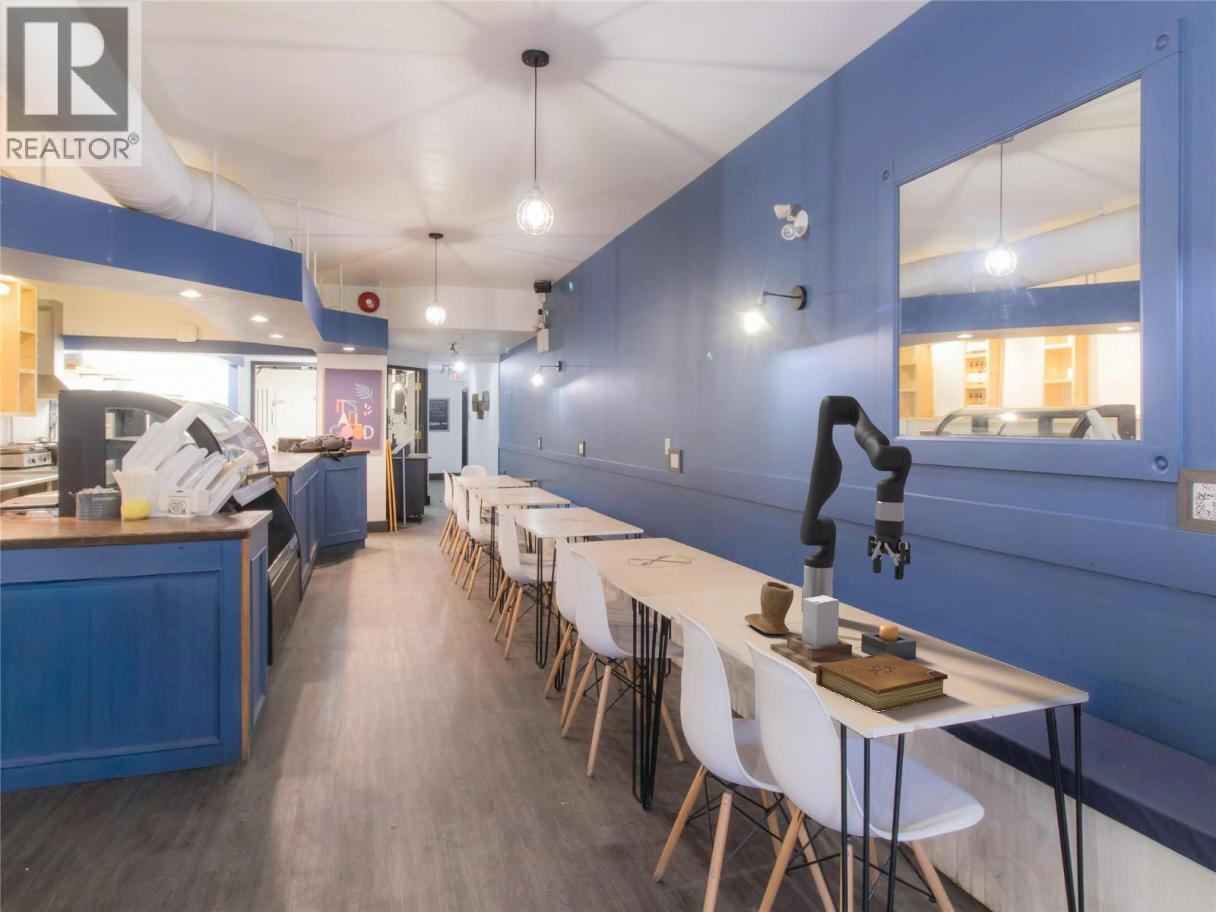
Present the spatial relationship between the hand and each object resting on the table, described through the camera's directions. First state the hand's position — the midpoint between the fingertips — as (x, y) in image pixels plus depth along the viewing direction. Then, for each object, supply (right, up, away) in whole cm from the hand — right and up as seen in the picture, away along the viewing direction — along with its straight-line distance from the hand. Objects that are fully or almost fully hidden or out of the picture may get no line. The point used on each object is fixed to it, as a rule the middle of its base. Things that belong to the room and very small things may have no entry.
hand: (887, 576), depth 192 cm
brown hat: (-27, -21, +24) cm, 42 cm away
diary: (-12, -24, -26) cm, 37 cm away
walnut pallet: (-20, -22, -2) cm, 29 cm away
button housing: (0, -22, +1) cm, 22 cm away
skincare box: (-20, -21, -2) cm, 28 cm away
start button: (0, -18, +1) cm, 18 cm away
